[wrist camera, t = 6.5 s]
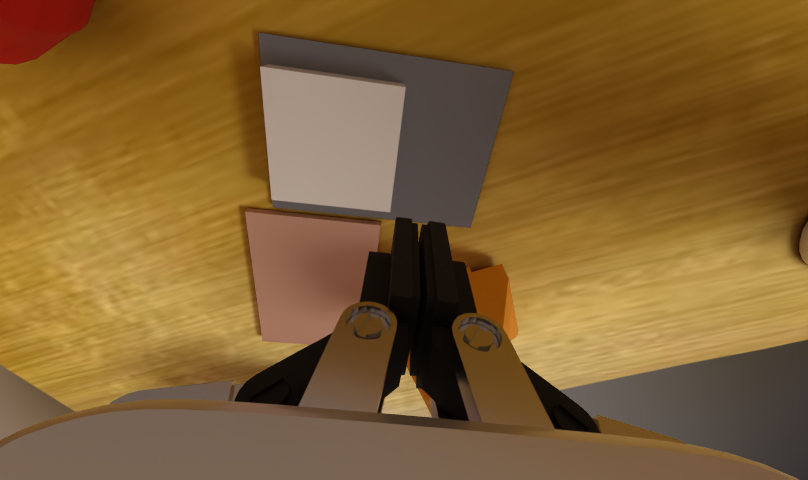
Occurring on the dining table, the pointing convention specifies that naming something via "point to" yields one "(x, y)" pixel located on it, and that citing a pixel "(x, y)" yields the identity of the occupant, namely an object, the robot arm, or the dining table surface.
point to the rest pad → (306, 270)
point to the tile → (331, 137)
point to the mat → (417, 124)
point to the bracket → (488, 304)
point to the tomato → (38, 26)
